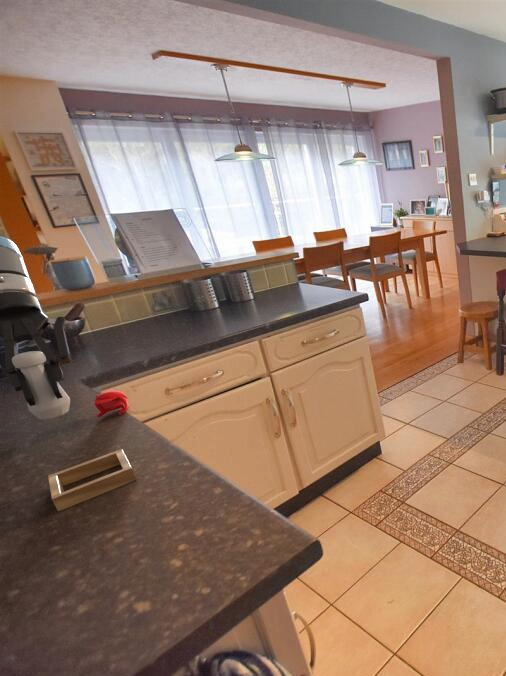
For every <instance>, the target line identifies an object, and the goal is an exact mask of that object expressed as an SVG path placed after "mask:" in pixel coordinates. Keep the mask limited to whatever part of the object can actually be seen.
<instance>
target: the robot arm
mask: <svg viewBox="0 0 506 676" xmlns="http://www.w3.org/2000/svg"><path fill="white" fill-rule="evenodd" d="M68 325H69V324H68V323H67V321H66V317H64V316H58V317H56V318H52V317H51V318H50V317H48V316H47V315H46V314H44V312H43V309H42V307H41V304H40V302H39V299H38V297H37V294H36V291H35V288H34V285H33V283H32V281H31V279H30V275H29V273H28V270H27V266H26V264H25V261H24V257H23V255H22V254H21V252H20V249H19V248H18V246H17V245H16V244H15V243H14V241H12V240H11V239H10V238H6V237H4V236H1V235H0V340H2V341H3V345H4V361H5V367H2V366H1V365H0V379H3V378H8V379H9V382H10V385H11V388H12V389H13V390H14V391H15V392H21V391H22V393H23V397H24V399H25V401H26V403H27V402H28V404H29V405H30V406H33V405H36V403H35V400H34V398H33V395H32V393H31V391H30V389H29V386H28V384H27V382H26V379H25V377H24V375H23V373H22V372H21V369H20V368H16V367H15V366H14V365H13V363H12V358H13V357H14V356H16V355H18V354H19V343H21V342H24V341H33V342H34V344H35V345H36V347H37V348H38V350H39V351H40V352H42V353H43V354H44V355H45V357H46V362H47V363H44V367H45V370H46V373H47V375H48V378H49V381H50V384H51V387H52V389H53V392H54V394H55V396H56V397H57V399H59V398H63V396H62V393H61V391H60V388H59V385H60V384H59V385H58V383H59V382H62V381H65V376H64V373H63V370H62V366H63V365H65V364H70V363H71V362H72V357H71V352H70V349H69V345H68V343H69V342H68V339H67V335H66V333H67V332H66V331H67V328H68ZM48 326H50V327H51V329H52V330H54V335H55V340H56V345H57V349H58V353H59V355H57V356H55V355H54V353H53V352H52V350H51V348H50V347H49V346H48V344H47V342H46V341H45V339H44V338H43V336H42V334H43V332H44V331H45V330H46V329H47V328H48ZM57 382H58V383H57Z"/></svg>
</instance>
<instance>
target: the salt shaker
mask: <svg viewBox="0 0 506 676" xmlns="http://www.w3.org/2000/svg"><path fill="white" fill-rule="evenodd" d="M45 362H47V360H46V357H45V355H44V354H43V353H42V352H41V351H40V350H32V351H26V352H22V353H18V355H16V356H14V357H13V358H12V363H13V365H14V366H15V367H16V368H19V369H20V370H21V372H22V373H23V375H24V377H25V379H26V382H27V384H28V386H29V389H30V391H31V393H32V395H33V398H34V400H35V403H36V405H33V406H30V405H29V404H28V402H27V401H26V404H27V405H26V406H27V409H28V411H29V412H30V413H31V414H32V415H33V416H35V417H36V418H38V419H39V420H51V419H54V418H58V417H61V416H64V415H65V414H66V413H68V412H69V411H70V408H71V407H70V405H71V398H70V396H69V395H68V394H67V392H66V391H65V390H64V388H63V387H62V386H61V384H60V383H59V381H58V382H57V383H58V385H59V388H60V391H61V393H62V396H63V398H59V399H57V397H56V396H55V394H54V392H53V389H52V387H51V384H50V381H49V378H48V375H47V373H46V370H45V367H44V364H45Z"/></svg>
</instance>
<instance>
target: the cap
mask: <svg viewBox="0 0 506 676" xmlns="http://www.w3.org/2000/svg"><path fill="white" fill-rule="evenodd" d="M94 406H95V408H96V409H97V410H98V412H99V413H97V415H96V416H97V418H101V417H103V416H104V415H106V414H107V413H110V412H112V411H116V410H119V409H120V410H119V412H118V413H117V414H118V415H119V416H123V414H125V413H126V412H127V411H128V410H129V409H130V406H129V403H128V396H127V394H125V393H124V392H122V391H121V390H120V391H119V390H106V391H104V392H101V393H100V394H97V395H96V397H95V399H94Z"/></svg>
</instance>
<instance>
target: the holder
mask: <svg viewBox="0 0 506 676" xmlns="http://www.w3.org/2000/svg"><path fill="white" fill-rule="evenodd" d="M130 463H131V462H129V459H128V458H127V455H126V454H125V452H124V449H123V448H120V449H118V450H115V451H113V452H109V453H107V454H104V455H101V456H98V457H96V458H92V459H90V460H87V461H85V462H81V463H79V464H76V465H74V466H71V467H68V468H65V469H63V470H60V471H56V472H55V473H52V474H49V475H47V478H48V483H49V484H48V485H49V490H50V496H51V500H52V502H53V505H54V506H55V509H56V510H57V512H59V513H60V512H61V511H63V510H66V509H68V508H71V507H73V506H76V505H78V504H81V503H83V502H86V501H88V500H90V499H93V498H95V497H98V496H100V495H103V494H105V493H108V492H110V491H113V490H115V489H118V488H120V487H123V486H125V485H128V484H130V483H132V482H135V481H137V479H138V478H137V476H136V474H135V472H134V469H133V467H132V465H131V464H130ZM117 466H120V467H121V469H119V470H116V471H114V472H112V473H109V474H106V475H104V476H101V477H98V478H96V479H93V480H91V481H88V482H86V483H83V484H81V485H78V486H75V487H73V488H70V489H68V490H64V487H65V486H68V485H70V484H73V483H75V482H78V481H81V480H83V479H86V478H89V477H91V476H94V475H97V474H99V473H102V472H104V471H106V470H110V469H112V468H114V467H117Z"/></svg>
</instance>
